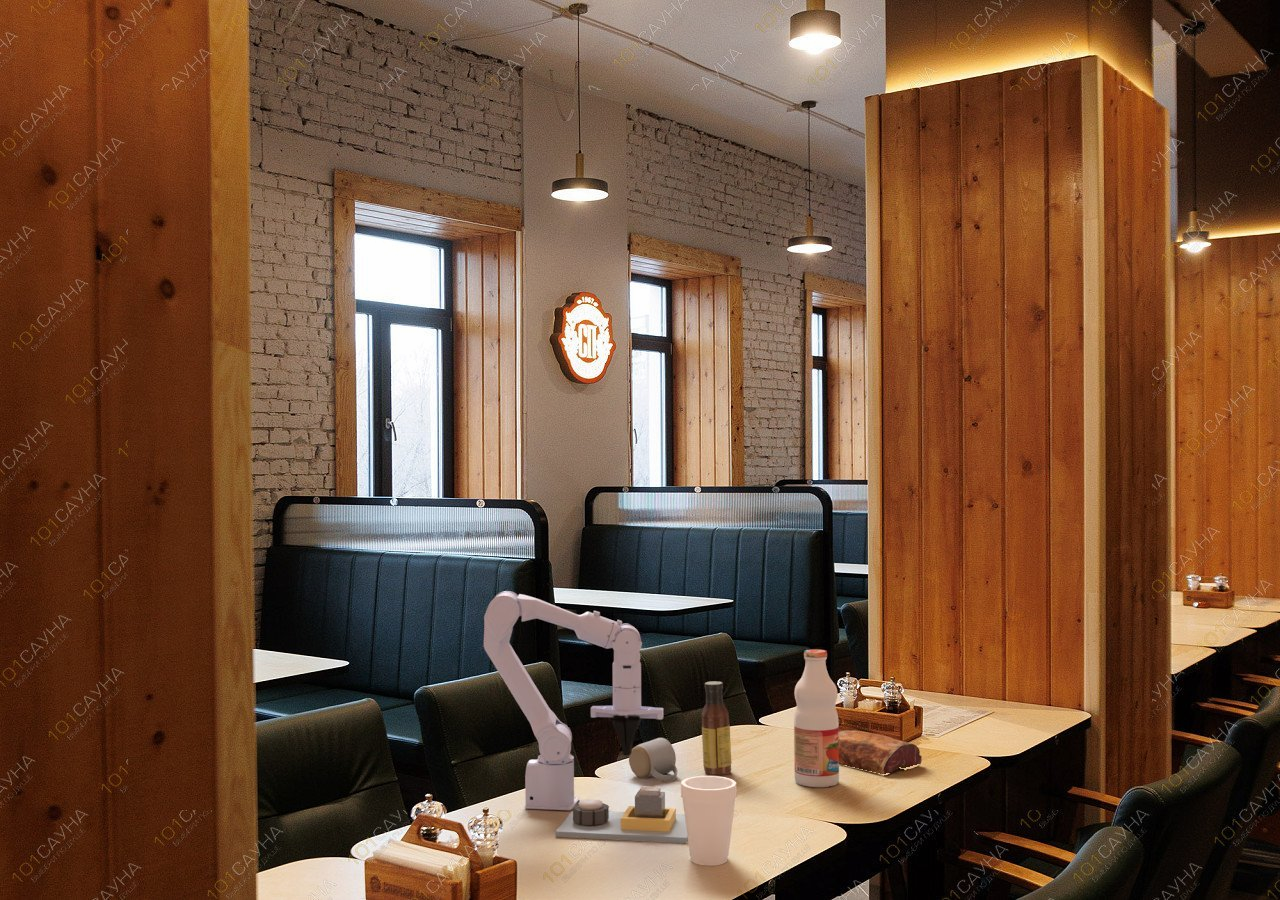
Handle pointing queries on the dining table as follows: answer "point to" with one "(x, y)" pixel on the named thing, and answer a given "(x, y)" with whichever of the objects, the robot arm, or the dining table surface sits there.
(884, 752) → the cured meat
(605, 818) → the dark grey knob
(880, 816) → the dining table surface
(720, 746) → the sauce bottle
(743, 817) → the dining table surface
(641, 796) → the grey square peg
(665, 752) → the ceramic mug
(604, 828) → the plate
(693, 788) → the foam cup
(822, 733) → the fruit juice
